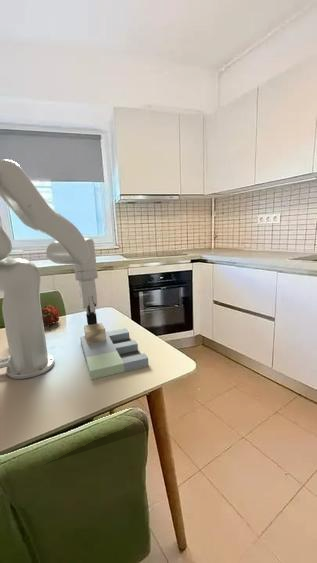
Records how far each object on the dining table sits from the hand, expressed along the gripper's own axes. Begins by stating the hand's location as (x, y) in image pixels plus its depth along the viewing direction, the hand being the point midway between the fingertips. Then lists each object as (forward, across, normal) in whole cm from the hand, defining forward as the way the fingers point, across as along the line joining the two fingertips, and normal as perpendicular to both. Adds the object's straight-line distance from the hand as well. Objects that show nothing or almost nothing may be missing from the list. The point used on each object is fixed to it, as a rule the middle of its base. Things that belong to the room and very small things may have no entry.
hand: (92, 323), depth 100 cm
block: (+2, +9, 0) cm, 10 cm away
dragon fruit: (+5, -21, -15) cm, 26 cm away
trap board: (+4, +17, +3) cm, 18 cm away
